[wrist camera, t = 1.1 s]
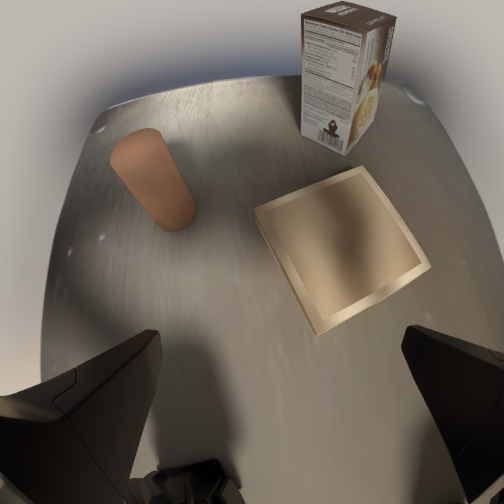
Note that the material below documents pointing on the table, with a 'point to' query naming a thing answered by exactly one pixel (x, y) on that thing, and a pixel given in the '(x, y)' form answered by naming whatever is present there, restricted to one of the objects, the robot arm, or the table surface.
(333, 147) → the coffee box
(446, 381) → the robot arm
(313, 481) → the table surface
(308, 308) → the square tray
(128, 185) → the peach rounded peg
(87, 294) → the table surface
